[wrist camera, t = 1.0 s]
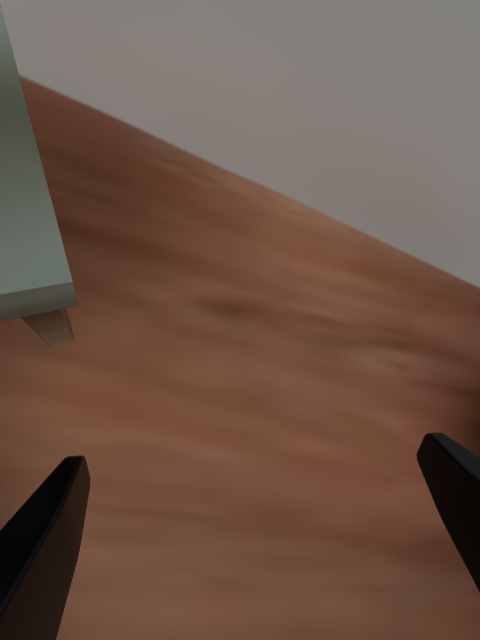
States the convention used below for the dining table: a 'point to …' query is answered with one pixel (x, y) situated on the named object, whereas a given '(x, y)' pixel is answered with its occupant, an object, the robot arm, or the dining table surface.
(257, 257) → the dining table surface
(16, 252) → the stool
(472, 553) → the robot arm
